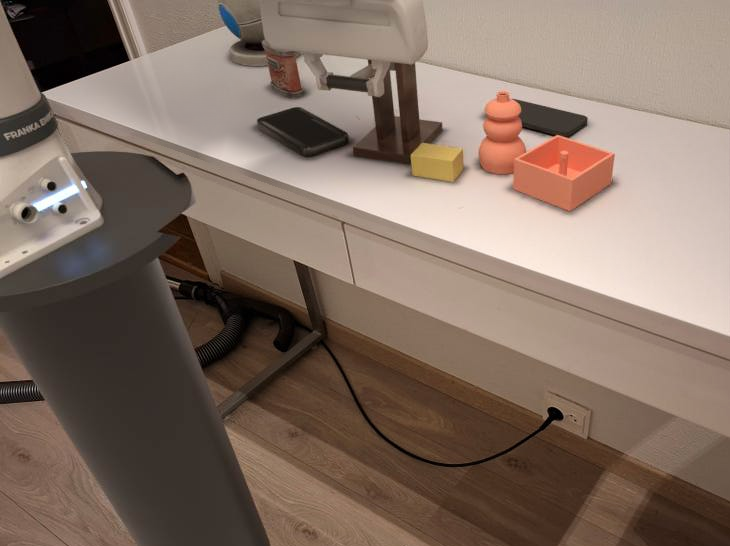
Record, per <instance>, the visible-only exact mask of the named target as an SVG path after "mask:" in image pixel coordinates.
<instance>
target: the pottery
mask: <svg viewBox="0 0 730 546" xmlns="http://www.w3.org/2000/svg"><path fill="white" fill-rule="evenodd" d="M513 99H514V98H510V92H509V91H506V90H501V91H497V92H496V97H495V98H494V99H490V101H488V102H487V103H486V104H485V106H484V109H483V110H484V114H485V115H487V116H486V117H485V119H484V121H483V124H482V128H483V132H484V133H485V135H486V136H485V137H484V138H483V139H482V141H481V142H480V144H479V147H478V159H479V162H480V166H481V168H482V169H483V170H485V171H486V172H488V173H491V174H497V175H509V174H513V177H512V178H513V181H512V183H513V184H512V189H513V190H514V191H517V192H519V193H521V194H523V195H527V196H529V197H532V198H534V199H537V200H540V201H542V202H544V203H547V204H549V205H552V206H554V207H557V208H560V209H563V210H565V211H568V212H572V211H573V210H574V209H576V208H578V207H579V206H581V205H582V204H583V203H584V202H586V201H587V200H589V199H591V198H593V196H595V195H596V194H598V193H600V192H601V191H603V190H604V189H606V188H607V187H608V186H610V185H611V184H612V180H613V173H614V163H615V157H616V153H614V152H612V151H608V150H605V149H603V148H602V149H601V148H599V147H596V146H593V145H590V144H587V143H584V142H581V141H578V140H575V139H571V138H569V137H567V136H566V137H563V136H559V135H554V136H553V137H550V138H549V139H548V140H546V141H544V142H542V143H540V144H538V145H537V146H535V147H533V148H532V149H529V150H528V151H527V149H526V145H525V142H524V141H523V139H522V138H521V137H520V136H519V135H520V134H521V132H522V131H523V126H522V122H521V120H520V118H519V117H518V116H519V114H520V113H521V106H520V104H519V103H517V102H516V101H515V100H513Z"/></svg>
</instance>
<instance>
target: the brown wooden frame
mask: <svg viewBox="0 0 730 546" xmlns="http://www.w3.org/2000/svg"><path fill="white" fill-rule="evenodd" d="M371 63H372V62H371V60H367V66H368V65H370V64H371ZM395 70H396V71H395V80H396V81H395V82H396V90H397V102H398V113H399V116H398V115H395V109H394V108H395V107H394V96H393V87H392V78H391V77H392V76H391V70H388V71H387V73H386V75H385V77H384V79H383V82H384V94H383V95H382V96H381V97H374V96H371V100H372V108H373V115H374V117H373V118H374V125H375V126H374V127H373V128H372V129H371V130H370V131H369V132H368V133H366V135H364V136H363V137H362V138H361V139H360V140H358V142H357V143H355V144H354V145H353V146H352V153H353V156H355V157H360V158H368V159H374V160H378V161H379V160H381V161H387V162H393V163H399V164H407V165H411V154H412V153H413V152H414V151H415V150H416V149H417V148H418V147H419V146H420V145H421V144H422V143H428V144H432V143H433V142H434V141H435V140H436V138H437V137H438V136H439V135H440V134H442V133H443V131H444V130H443V122H442V121H436V120H435V121H434V120H427V119H421V118H420V112H419V97H418V85H417V70H416V62H415V63H414V64H403V63H395ZM374 76H375V75H374ZM374 76H373V77H374ZM371 78H372V77H371ZM371 78H369V79H371Z"/></svg>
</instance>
